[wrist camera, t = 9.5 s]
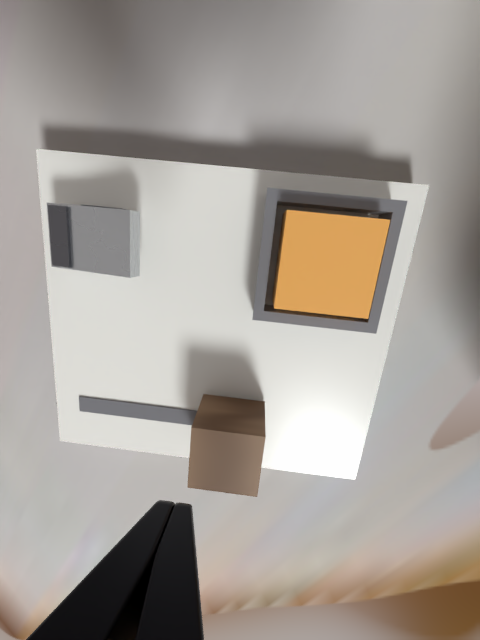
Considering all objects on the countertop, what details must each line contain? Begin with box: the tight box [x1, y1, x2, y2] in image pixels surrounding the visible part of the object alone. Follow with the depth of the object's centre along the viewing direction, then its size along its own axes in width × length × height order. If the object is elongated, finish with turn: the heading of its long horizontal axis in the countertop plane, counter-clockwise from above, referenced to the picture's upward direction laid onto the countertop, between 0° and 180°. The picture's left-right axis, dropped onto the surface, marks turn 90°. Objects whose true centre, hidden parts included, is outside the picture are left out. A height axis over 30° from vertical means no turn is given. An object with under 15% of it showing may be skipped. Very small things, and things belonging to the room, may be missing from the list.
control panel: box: [36, 149, 429, 480], centre depth 17 cm, size 19×17×3 cm
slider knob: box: [188, 394, 266, 497], centre depth 16 cm, size 4×4×3 cm
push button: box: [272, 210, 390, 319], centre depth 14 cm, size 4×4×2 cm
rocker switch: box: [47, 203, 140, 278], centre depth 14 cm, size 4×3×1 cm
